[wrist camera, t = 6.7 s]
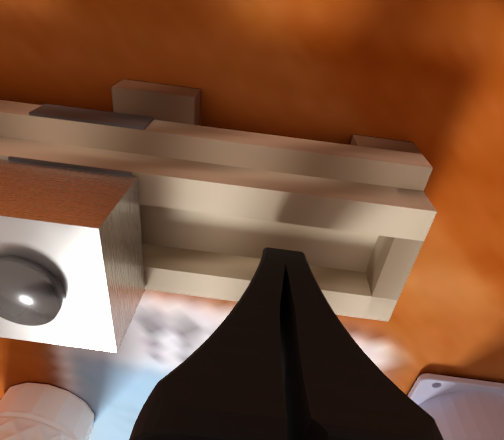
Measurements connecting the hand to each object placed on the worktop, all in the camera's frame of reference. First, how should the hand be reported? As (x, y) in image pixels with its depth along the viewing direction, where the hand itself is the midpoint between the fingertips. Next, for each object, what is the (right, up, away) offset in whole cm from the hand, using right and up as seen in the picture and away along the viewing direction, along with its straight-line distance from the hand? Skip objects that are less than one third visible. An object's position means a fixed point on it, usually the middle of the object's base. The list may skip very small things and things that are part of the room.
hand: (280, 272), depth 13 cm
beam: (-5, +3, +4) cm, 7 cm away
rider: (-7, +2, +2) cm, 8 cm away
